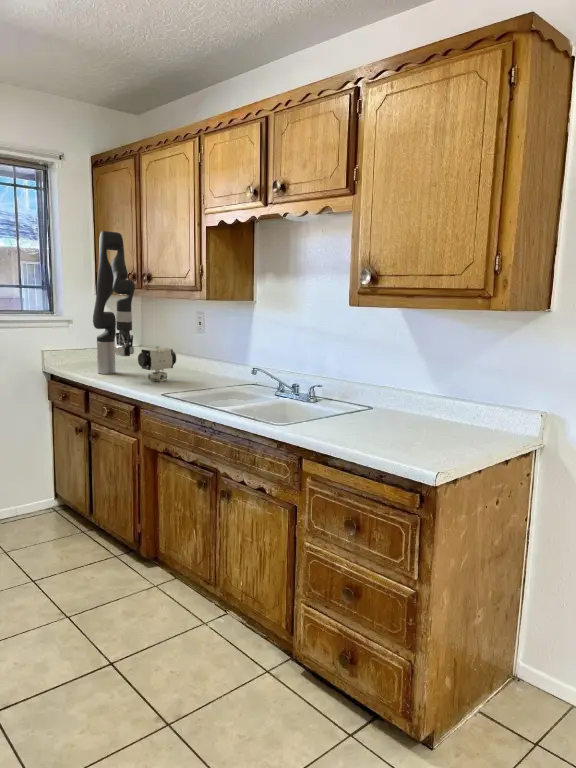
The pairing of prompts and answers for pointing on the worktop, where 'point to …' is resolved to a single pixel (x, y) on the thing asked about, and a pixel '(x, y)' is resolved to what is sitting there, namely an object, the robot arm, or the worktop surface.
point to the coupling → (123, 350)
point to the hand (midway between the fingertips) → (124, 354)
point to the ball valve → (157, 362)
